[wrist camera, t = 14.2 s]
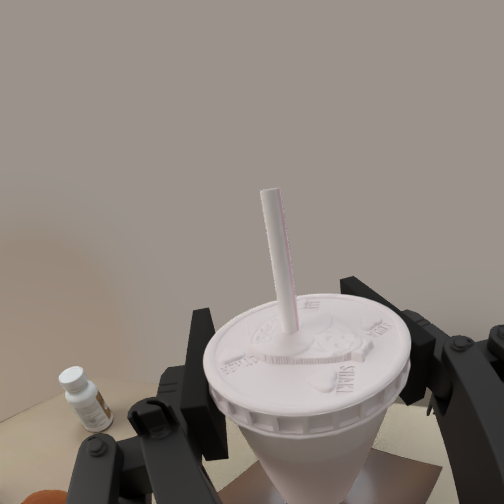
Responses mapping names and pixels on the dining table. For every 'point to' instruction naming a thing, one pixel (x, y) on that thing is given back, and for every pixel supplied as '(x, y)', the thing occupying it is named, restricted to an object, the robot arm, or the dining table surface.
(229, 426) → the dining table surface
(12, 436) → the dining table surface
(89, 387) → the pill bottle
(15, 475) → the dining table surface
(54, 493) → the burger
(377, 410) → the smoothie
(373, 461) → the walnut box
